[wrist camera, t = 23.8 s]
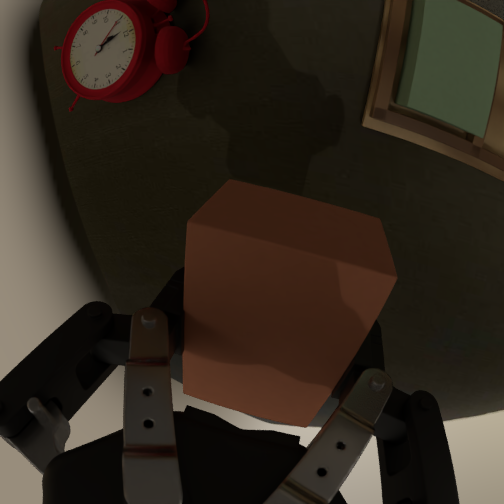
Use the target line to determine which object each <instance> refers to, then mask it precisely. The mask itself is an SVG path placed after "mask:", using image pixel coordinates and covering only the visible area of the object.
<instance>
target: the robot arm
mask: <svg viewBox="0 0 504 504" xmlns="http://www.w3.org/2000/svg"><path fill="white" fill-rule="evenodd" d="M184 274H185V267H183V268H181V269H179V270H178V271H176V272H175V273H174V275H173V276H172V277H171V279H170V280H169V281H168V283H167V284H166V286H165V287H164V288H163V289H162V291H161V292H160V293H159V295H158V296H157V297H156V299H155V300H154V301H153V303H152V304H151V305H150V307H145V308H141V309H139V310H137V311H136V312H135V313H134V314H133V315H122V314H113V313H112V309H111V307H110V306H109V305H108V304H106V303H104V302H100V301H99V302H98V301H95V302H90V303H88V304H86V305H84V306H83V307H82V308H81V309H79V310H78V311H77V312H76V313H75V314H73V315H72V316H71V317H70V318H69V319H68V320H66V321H65V322H64V323H63V324H62V325H61V326H60V327H58V329H56V330H55V331H54V332H53V333H52V334H51V335H49V336H48V337H47V338H46V339H45V340H44V341H43V342H42V343H41V344H39V345H38V346H37V347H36V348H35V349H34V350H33V351H32V352H31V353H30V354H29V355H28V356H26V357H25V358H24V359H23V360H22V361H21V362H20V363H19V364H18V365H17V366H16V367H15V368H14V369H13V370H12V371H11V372H9V373H8V374H7V375H6V376H5V377H4V378H3V379H2V380H1V381H0V436H1V437H2V438H3V439H4V440H5V441H6V442H7V443H8V444H10V445H11V446H12V447H13V448H15V449H17V450H18V451H19V452H20V453H21V454H22V455H23V456H24V457H25V458H26V459H27V460H28V461H29V462H30V463H31V464H32V465H33V466H34V467H35V468H36V469H37V470H38V471H39V472H40V473H41V474H43V480H42V486H43V504H347V503H346V501H345V499H344V498H343V496H342V494H341V493H340V491H339V488H340V487H341V485H342V484H343V483H344V481H345V480H346V478H347V477H348V475H349V473H350V472H351V470H352V469H353V467H354V466H355V464H356V462H357V461H358V459H359V458H360V456H361V454H362V453H363V451H364V449H365V448H366V446H367V444H368V443H369V441H370V439H371V437H372V435H374V436H376V439H377V447H378V456H379V465H380V475H381V486H382V499H383V504H459V498H458V491H457V485H456V479H455V474H454V469H453V464H452V459H451V454H450V450H449V445H448V441H447V437H446V433H445V429H444V425H443V421H442V417H441V413H440V410H439V406H438V403H437V401H436V399H435V398H434V396H433V395H431V394H430V393H428V392H426V391H422V390H419V391H416V392H414V393H413V394H412V395H411V396H410V395H408V394H406V393H404V392H402V391H400V390H398V389H396V388H395V387H393V382H392V379H391V378H390V376H389V375H388V374H387V373H386V372H385V367H384V355H383V346H382V338H381V337H382V335H381V327H380V325H379V323H378V322H377V320H375V322H374V324H373V326H372V328H371V329H370V331H369V333H368V335H367V336H366V338H365V340H364V341H363V343H362V345H361V346H360V348H359V350H358V351H357V353H356V355H355V356H354V358H353V359H352V361H351V363H350V364H349V366H348V367H347V369H346V371H345V372H344V374H343V375H342V377H341V378H340V380H339V381H338V383H337V385H336V386H335V388H334V389H333V391H332V396H331V397H332V398H337V399H339V405H338V407H337V408H336V409H335V411H334V412H333V414H332V415H331V416H330V418H329V419H328V420H327V422H326V423H325V424H324V426H323V427H322V428H321V430H320V431H319V433H318V434H317V435H316V437H315V438H314V439H313V440H312V441H311V443H310V444H309V445H308V446H307V447H304V446H302V445H300V444H299V441H300V436H295V435H291V434H286V433H282V432H277V431H272V430H243V429H240V428H238V427H236V426H234V425H232V424H230V423H229V422H227V421H225V420H223V419H222V418H220V417H218V416H216V415H215V414H212V413H209V412H206V411H203V410H199V409H197V408H194V407H191V406H188V405H187V406H186V408H185V411H184V412H181V411H173V404H172V390H171V375H170V360H171V358H172V356H173V354H174V353H175V354H178V355H181V356H182V354H183V352H184V319H185V311H184V310H183V304H184ZM118 365H123V366H125V377H124V408H123V409H124V410H123V429H121V430H118V431H116V432H114V433H111V434H109V435H107V436H105V437H102V438H99V439H97V440H94V441H92V442H90V443H87V444H84V445H82V446H79V447H76V448H74V449H71V450H68V451H66V452H64V447H65V443H66V441H67V439H68V438H69V435H70V425H69V422H68V421H69V420H70V419H71V418H72V417H73V416H74V414H75V413H76V412H77V411H78V410H79V409H80V408H81V406H82V405H83V404H84V403H85V402H86V401H87V400H88V399H89V398H90V396H91V395H92V394H93V393H94V392H95V391H96V390H97V389H98V387H99V386H100V385H101V384H102V383H103V382H104V381H105V380H106V378H107V377H108V376H109V375H110V374H111V373H112V372H113V371H114V369H115V368H116V367H117V366H118Z"/></svg>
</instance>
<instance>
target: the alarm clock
mask: <svg viewBox="0 0 504 504" xmlns="http://www.w3.org/2000/svg"><path fill="white" fill-rule="evenodd" d="M203 2H204V5H205V10H206V20H205V24H204V26H203V28H202V29H201V30H200V31H199V32H198V33H197V34H196V35H194V36H193V37H191V38H190V39H188V36H187V34H186V33H185V31H184V30H183V29H181V28H179V27H177V26H170V23H169V21H173V18H172V15H170V16H168V18H167V16H166V15H165V13H164V12H166V13H170V12H172V11H173V10H174V9H175V7H176V5H177V0H147V1H146V0H105V1H101V2H98V3H96V4H94V5H92V6H90V7H89V8H87V9H86V10H85V11H83V12H82V13H81V14H80V15H79V16H78V17H77V18H76V20H75V21H74V22H73V24H72V25H71V27H70V29H69V31H68V33H67V35H66V37H65V40H64V43H63V47H58V46H55V47H54V50H57V49H62V55H61V65H62V72H63V75H64V78H65V81H66V82H67V84H68V86H69V87H70V88H71V90H72V91H73V92H75V93H76V94H77V97H76V99H75V101H74V103H73V105H72V106H71V107H70V108H69V111H73V107H74V105H75V104H76V102H77V101H78V99H79V98H80V96H81V97H83V98H87V99H90V100H104V101H107V102H113V103H118V102H125V101H129V100H133V99H135V98H137V97H139V96H141V95H142V94H144V93H145V92H147V91H148V90H149V89H150V88H151V87H152V86H153V85H154V84H155V83H156V82H157V81H158V79H159V78H160V76H161V75H162V73H164V74H174V73H178V72H179V71H181V70H182V69H183V68H184V67H185V65H186V63H187V60H188V57H189V50H191V47H190V46H189V42H190V41H192V40H194V39H195V38H197V37H198V36H199V35H200V34H202V33H203V32H204V30H205V29H206V27H207V25H208V23H209V8H208V3H207V0H203Z"/></svg>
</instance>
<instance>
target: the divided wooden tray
mask: <svg viewBox="0 0 504 504" xmlns="http://www.w3.org/2000/svg"><path fill="white" fill-rule="evenodd" d="M412 1H413V0H385V3H384V10H383V17H382V23H381V29H380V35H379V41H378V47H377V52H376V58H375V63H374V68H373V73H372V78H371V83H370V88H369V93H368V97H367V102H366V106H365V111H364V115H363V119H362V124H361V125H362V126H363V127H366V128H370V129H373V130H376V131H379V132H383V133H386V134H389V135H392V136H395V137H398V138H401V139H404V140H407V141H410V142H412V143H415V144H418V145H421V146H423V147H426V148H429V149H431V150H434V151H436V152H439V153H442V154H444V155H446V156H449V157H451V158H454V159H456V160H458V161H461V162H463V163H465V164H468V165H470V166H472V167H474V168H477V169H479V170H481V171H483V172H485V173H487V174H489V175H491V176H493V177H495V178H497V179H499V180H501V181H503V182H504V20H502V19H501V18H499V17H497V16H496V15H494V14H492V13H491V12H489V11H487V10H485V9H483V8H482V7H480V6H478V5H476V4H474V3H472V2H470V1H468V0H457V1H459V2H461V3H463V4H465V5H467V6H469V7H471V8H473V9H475V10H477V11H479V12H480V13H482V14H484V15H486V16H488V17H489V18H491V19H493V20H495V21H496V22H498V23H500V24H501V25H503V30H502V41H501V50H500V58H499V66H498V72H497V78H496V84H495V90H494V95H493V100H492V104H491V109H490V113H489V118H488V122H487V126H486V130H485V134H484V137H483V138H480V137H478V136H475V135H473V134H471V133H468V132H466V131H463V130H461V129H459V128H456V127H454V126H452V125H449V124H447V123H445V122H442V121H440V120H438V119H435V118H433V117H430V116H427V115H425V114H422V113H420V112H417V111H414V110H412V109H409V108H406V107H403V106H400V105H397V104H395V98H396V94H397V89H398V84H399V80H400V75H401V70H402V64H403V59H404V54H405V48H406V42H407V36H408V29H409V23H410V15H411V8H412Z"/></svg>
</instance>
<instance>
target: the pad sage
mask: <svg viewBox="0 0 504 504" xmlns="http://www.w3.org/2000/svg"><path fill="white" fill-rule="evenodd" d="M502 30H503V25H501V24H500V23H498V22H496V21H495V20H493V19H491V18H489V17H488V16H486V15H484V14H482V13H480V12H479V11H477V10H475V9H473V8H471V7H469V6H467V5H465V4H463V3H461V2H459V1H457V0H413V1H412V8H411V15H410V23H409V29H408V36H407V42H406V48H405V54H404V59H403V64H402V70H401V75H400V80H399V84H398V89H397V94H396V98H395V104H397V105H400V106H403V107H406V108H409V109H412V110H414V111H417V112H420V113H422V114H425V115H427V116H430V117H433V118H435V119H438V120H440V121H442V122H445V123H447V124H449V125H452V126H454V127H456V128H459V129H461V130H463V131H466V132H468V133H471V134H473V135H475V136H478V137H480V138H483V137H484V134H485V130H486V126H487V122H488V118H489V113H490V109H491V104H492V100H493V95H494V90H495V84H496V78H497V72H498V66H499V58H500V50H501V41H502Z"/></svg>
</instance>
